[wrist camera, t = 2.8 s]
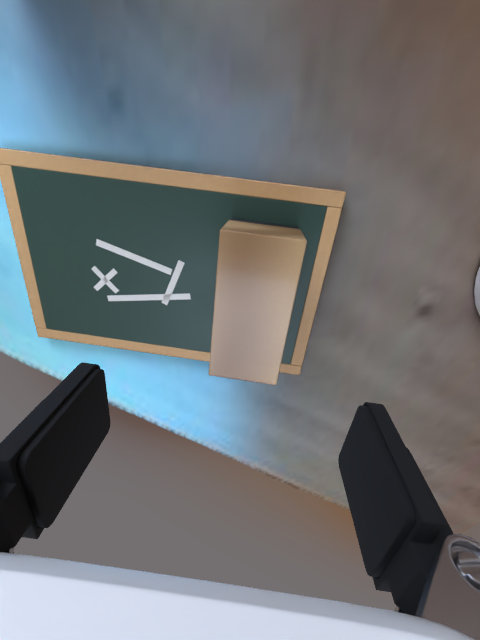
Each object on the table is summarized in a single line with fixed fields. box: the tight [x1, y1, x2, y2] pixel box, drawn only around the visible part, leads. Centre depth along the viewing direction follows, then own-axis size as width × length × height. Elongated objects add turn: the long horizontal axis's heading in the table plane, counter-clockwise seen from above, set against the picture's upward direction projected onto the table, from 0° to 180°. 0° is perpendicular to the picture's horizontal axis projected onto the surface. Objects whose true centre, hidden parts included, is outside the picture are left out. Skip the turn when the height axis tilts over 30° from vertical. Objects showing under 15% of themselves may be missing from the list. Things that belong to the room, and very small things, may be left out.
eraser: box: [209, 218, 307, 385], centre depth 20 cm, size 5×10×5 cm, turn 174°
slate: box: [0, 148, 346, 375], centre depth 23 cm, size 24×15×1 cm, turn 84°
